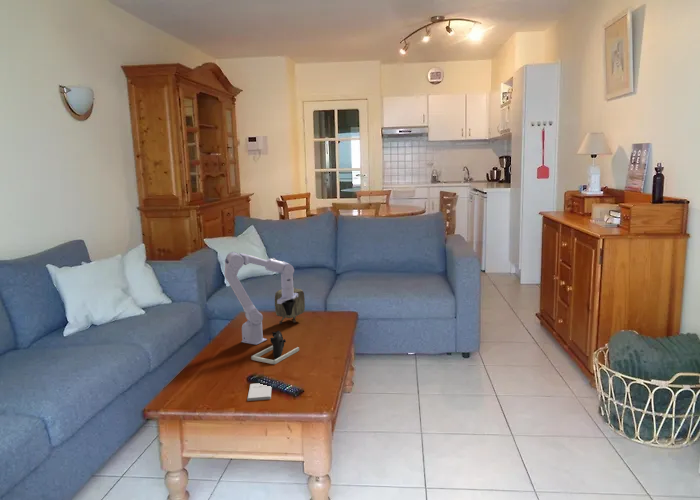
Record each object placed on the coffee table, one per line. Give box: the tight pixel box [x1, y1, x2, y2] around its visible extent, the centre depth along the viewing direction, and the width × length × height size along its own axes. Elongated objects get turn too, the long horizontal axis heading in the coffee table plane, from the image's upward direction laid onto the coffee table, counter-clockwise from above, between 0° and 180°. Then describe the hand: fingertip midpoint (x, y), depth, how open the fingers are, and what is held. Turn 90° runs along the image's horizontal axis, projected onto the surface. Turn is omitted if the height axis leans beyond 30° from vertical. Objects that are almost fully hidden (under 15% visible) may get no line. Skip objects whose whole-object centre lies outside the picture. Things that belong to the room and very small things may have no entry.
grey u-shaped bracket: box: [250, 344, 300, 365], centre depth 228 cm, size 13×18×2 cm
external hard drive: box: [247, 382, 273, 402], centre depth 191 cm, size 2×8×12 cm
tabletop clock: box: [274, 278, 306, 325], centre depth 273 cm, size 14×9×25 cm, turn 144°
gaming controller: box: [269, 330, 287, 360], centre depth 228 cm, size 14×6×10 cm, turn 2°
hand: (288, 314), depth 252 cm, fingers closed
